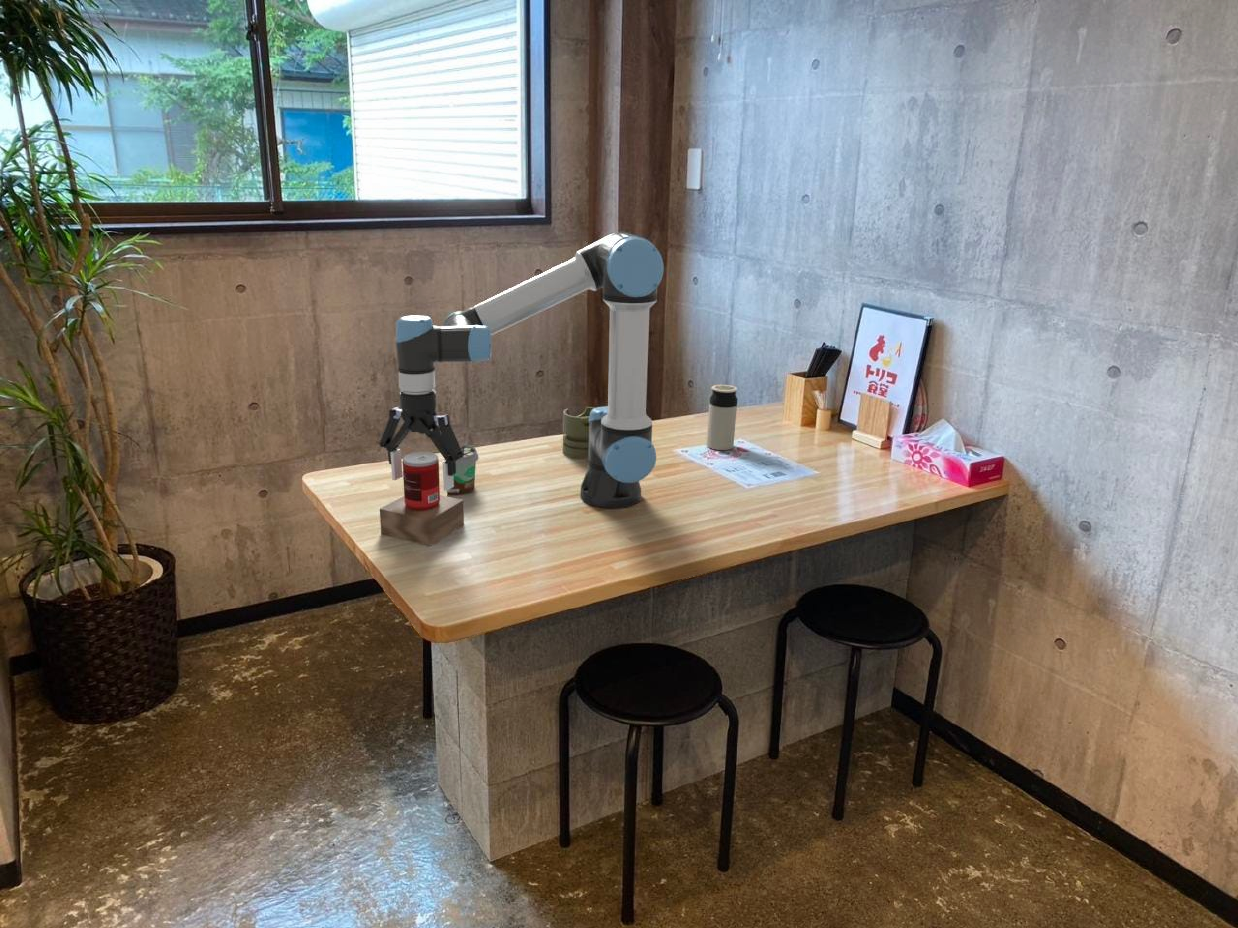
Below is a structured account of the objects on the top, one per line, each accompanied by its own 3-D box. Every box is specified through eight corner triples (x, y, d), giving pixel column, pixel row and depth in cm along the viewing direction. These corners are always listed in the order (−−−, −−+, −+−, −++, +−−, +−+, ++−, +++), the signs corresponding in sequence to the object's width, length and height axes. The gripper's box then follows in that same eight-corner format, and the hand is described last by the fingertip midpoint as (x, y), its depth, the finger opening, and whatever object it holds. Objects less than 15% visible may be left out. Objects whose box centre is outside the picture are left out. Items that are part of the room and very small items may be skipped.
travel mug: (734, 451, 257) (739, 391, 251) (707, 450, 257) (711, 390, 251) (731, 443, 264) (736, 384, 258) (705, 441, 264) (709, 383, 258)
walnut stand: (463, 524, 201) (463, 500, 199) (430, 545, 190) (429, 520, 187) (416, 513, 206) (415, 489, 204) (381, 533, 194) (379, 508, 192)
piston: (610, 416, 244) (572, 419, 240) (608, 456, 248) (571, 461, 244) (593, 405, 254) (557, 408, 249) (592, 444, 258) (556, 448, 253)
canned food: (441, 497, 200) (440, 451, 196) (438, 511, 192) (436, 463, 188) (407, 497, 199) (405, 451, 195) (402, 511, 191) (399, 463, 188)
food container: (468, 499, 215) (467, 461, 211) (444, 496, 216) (443, 458, 212) (486, 482, 226) (485, 445, 223) (463, 479, 227) (462, 443, 224)
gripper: (477, 393, 185) (480, 487, 192) (380, 378, 195) (387, 469, 202) (457, 402, 179) (461, 498, 186) (358, 386, 188) (365, 479, 195)
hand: (422, 483), depth 194 cm, fingers open, 13 cm apart
